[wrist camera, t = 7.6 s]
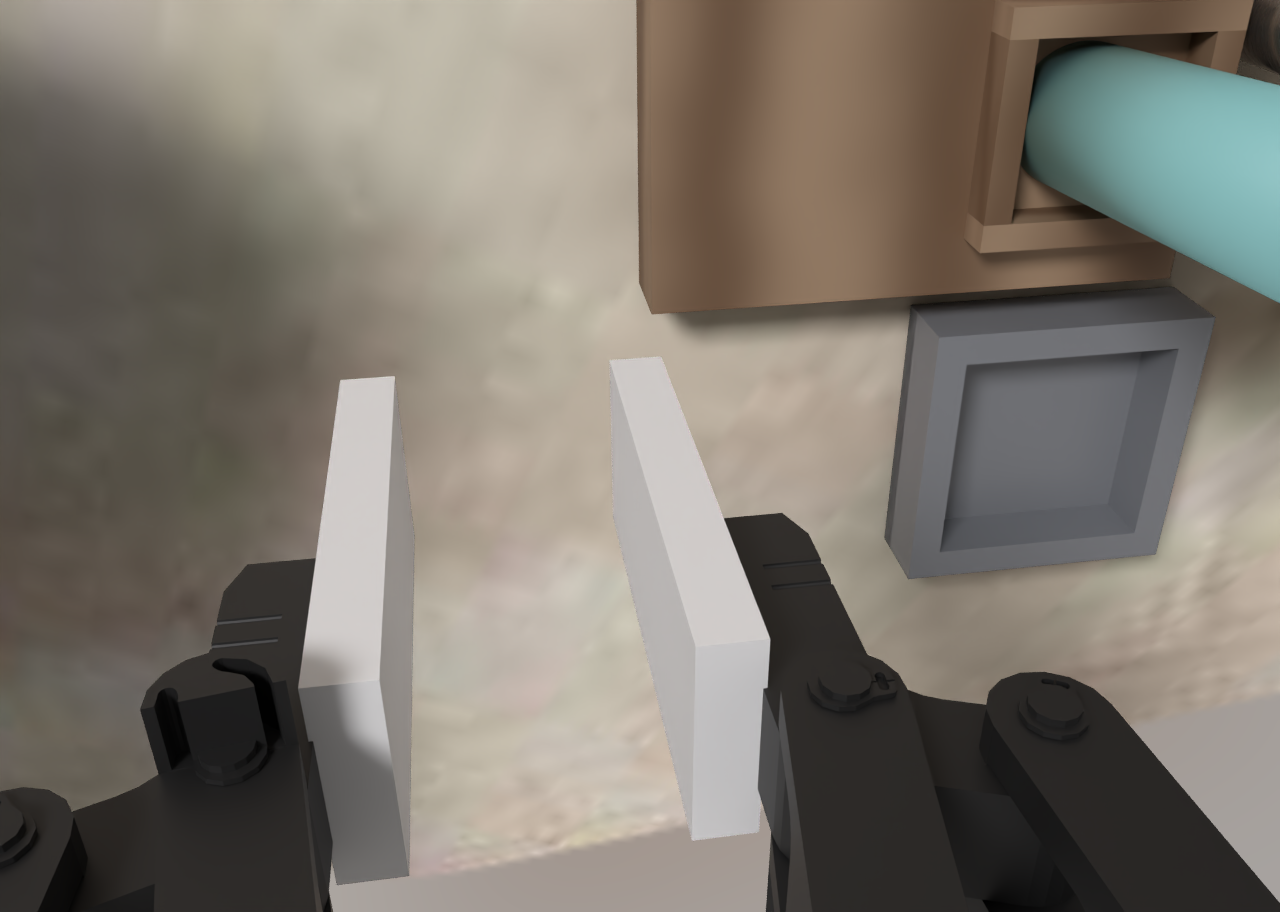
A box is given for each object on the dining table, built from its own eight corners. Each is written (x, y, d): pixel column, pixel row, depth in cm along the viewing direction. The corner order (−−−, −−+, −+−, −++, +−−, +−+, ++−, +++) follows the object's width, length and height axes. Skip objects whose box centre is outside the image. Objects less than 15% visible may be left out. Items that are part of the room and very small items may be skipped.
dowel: (1001, 191, 34) (1261, 335, 23) (1018, 43, 32) (1305, 126, 22) (1134, 183, 35) (1446, 320, 24) (1157, 37, 33) (1504, 115, 22)
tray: (884, 537, 43) (908, 579, 41) (910, 305, 39) (939, 337, 36) (1120, 515, 44) (1155, 554, 42) (1173, 286, 40) (1215, 317, 38)
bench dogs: (1146, 216, 38) (1257, 288, 33) (1203, -56, 34) (1340, -22, 29) (1233, 211, 39) (1357, 281, 34) (1301, -58, 35) (1452, -25, 30)
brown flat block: (636, 275, 37) (658, 331, 34) (632, -75, 32) (658, -54, 29) (1121, 243, 39) (1190, 293, 36) (1189, -91, 34) (1278, -73, 31)
